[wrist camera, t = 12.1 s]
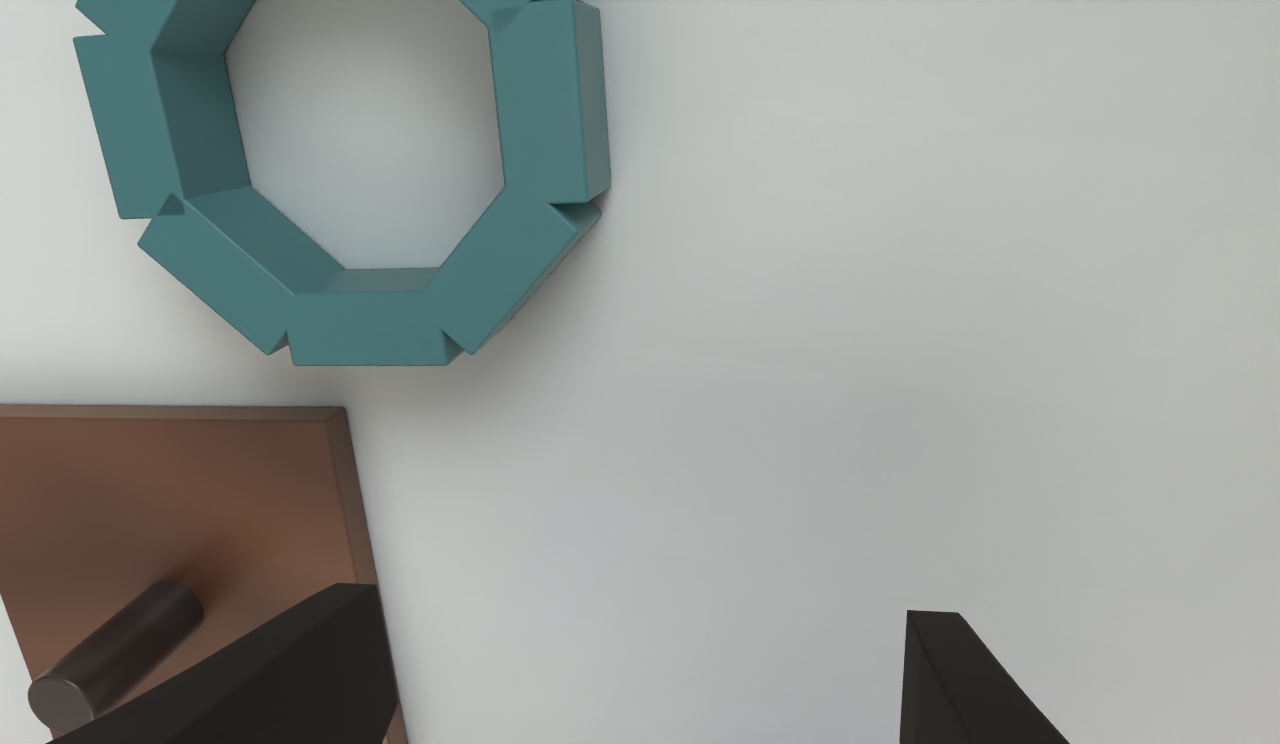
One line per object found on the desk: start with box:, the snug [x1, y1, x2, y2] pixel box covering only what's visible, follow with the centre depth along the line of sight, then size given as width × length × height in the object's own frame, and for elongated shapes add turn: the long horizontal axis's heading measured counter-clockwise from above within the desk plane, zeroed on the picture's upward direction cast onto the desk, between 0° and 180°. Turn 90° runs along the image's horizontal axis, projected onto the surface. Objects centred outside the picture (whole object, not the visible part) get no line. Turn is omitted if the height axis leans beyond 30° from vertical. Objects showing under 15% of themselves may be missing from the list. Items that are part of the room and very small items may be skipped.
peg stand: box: [0, 404, 407, 744], centre depth 22 cm, size 12×12×5 cm
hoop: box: [73, 0, 611, 366], centre depth 18 cm, size 10×10×2 cm
